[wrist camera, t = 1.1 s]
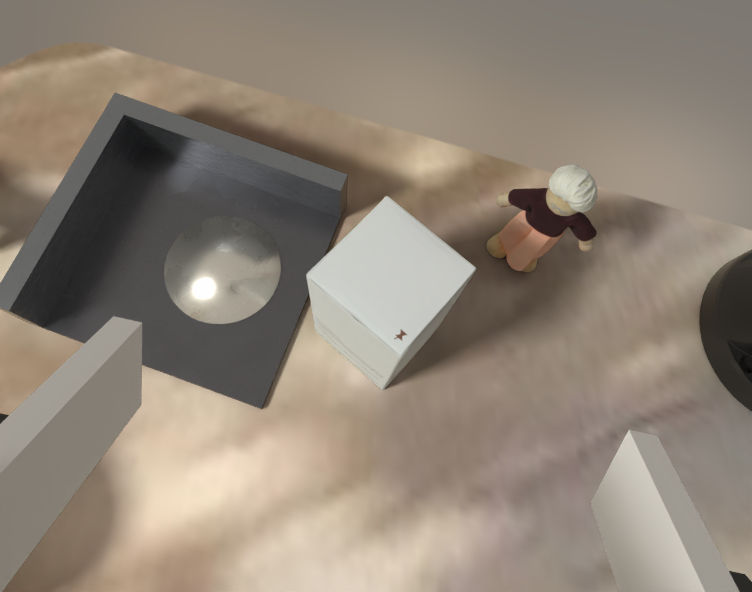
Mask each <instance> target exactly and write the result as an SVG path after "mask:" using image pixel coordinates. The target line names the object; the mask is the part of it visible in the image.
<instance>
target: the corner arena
mask: <svg viewBox="0 0 752 592" xmlns="http://www.w3.org/2000/svg"><path fill="white" fill-rule="evenodd" d="M347 178H348V174H345V173H342V172H339V171H336V170H333V169H331V168H328V167H325V166H322V165H319V164H316V163H314V162H311V161H308V160H305V159H302V158H299V157H297V156H294V155H291V154H288V153H285V152H282V151H279V150H277V149H274V148H271V147H268V146H265V145H262V144H260V143H257V142H254V141H251V140H248V139H245V138H243V137H240V136H237V135H234V134H231V133H228V132H226V131H223V130H220V129H217V128H214V127H211V126H208V125H206V124H203V123H200V122H197V121H194V120H191V119H189V118H186V117H183V116H180V115H177V114H174V113H172V112H169V111H166V110H163V109H160V108H157V107H155V106H152V105H149V104H146V103H143V102H140V101H137V100H135V99H132V98H129V97H126V96H123V95H120V94H118V93H114V95H113V97H112V98H111V100H110V102H109V103H108V105H107V107H106V108H105V110H104V112H103V113H102V115H101V117H100V118H99V120H98V122H97V123H96V125H95V127H94V128H93V130H92V132H91V133H90V135H89V137H88V138H87V140H86V142H85V143H84V145H83V147H82V148H81V150H80V152H79V153H78V155H77V157H76V158H75V160H74V162H73V163H72V165H71V167H70V168H69V170H68V172H67V173H66V175H65V177H64V178H63V180H62V182H61V183H60V185H59V187H58V188H57V190H56V192H55V193H54V195H53V197H52V198H51V200H50V202H49V203H48V205H47V207H46V208H45V210H44V212H43V213H42V215H41V217H40V218H39V220H38V222H37V223H36V225H35V226H34V228H33V230H32V231H31V233H30V235H29V236H28V238H27V240H26V241H25V243H24V245H23V246H22V248H21V250H20V251H19V253H18V255H17V256H16V258H15V260H14V261H13V263H12V265H11V266H10V268H9V270H8V271H7V273H6V275H5V276H4V278H3V280H2V281H1V283H0V309H1V310H3V311H5V312H7V313H9V314H11V315H13V316H15V317H17V318H20V319H22V320H24V321H26V322H28V323H31V324H33V325H36V326H39V327H42V328H44V329H47V330H50V331H52V332H55V333H58V334H60V335H63V336H66V337H68V338H71V339H74V340H77V341H79V342H82V343H86V342H87V341H88V340H89V339H90V338H91V337H92V336H93V335H94V334H95V333H96V332H98V331H99V330H100V329H101V328H102V327H103V326H104V325H105V324H106V323H107V322H108V321H109V320H110V319H111V318H112V317H113V316H115V317H119V318H124V319H129V320H133V321H138V322H142V365H144V366H147V367H149V368H152V369H155V370H158V371H160V372H163V373H166V374H168V375H171V376H174V377H176V378H179V379H182V380H185V381H187V382H190V383H193V384H195V385H198V386H201V387H203V388H206V389H209V390H212V391H214V392H217V393H220V394H222V395H225V396H228V397H230V398H233V399H236V400H239V401H241V402H244V403H247V404H249V405H252V406H255V407H257V408H260V409H262V407H263V405H264V402H265V400H266V398H267V395H268V393H269V390H270V388H271V386H272V383H273V381H274V378H275V376H276V373H277V371H278V369H279V366H280V364H281V361H282V359H283V356H284V354H285V352H286V349H287V347H288V344H289V342H290V340H291V337H292V335H293V332H294V330H295V327H296V325H297V323H298V320H299V318H300V315H301V313H302V310H303V308H304V306H305V303H306V301H307V298H308V296H309V289H308V283H307V277H306V274H307V273H308V272H309V271H310V270H311V269H312V268H313V267H314V266H315V265H316V264H317V263H318V262H319V261H320V260H321V259H322V258H323V257H324V256H325V255H326V252H327V250H328V248H329V245H330V243H331V240H332V238H333V235H334V233H335V231H336V228H337V226H338V223H339V221H340V218H341V216H342V214H343V211H344V209H345V206H346V201H347Z"/></svg>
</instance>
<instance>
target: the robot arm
mask: <svg viewBox="0 0 752 592" xmlns="http://www.w3.org/2000/svg"><path fill="white" fill-rule="evenodd" d="M700 331H701V337H702V342H703V346H704V349H705V352H706V354H707V357H708V359H709V361H710V364H711V366H712V367H713V369H714V371H715V373H716V374H717V376H718V378H719V379H720V380H721V382H722V383H723V384H724V386H725V387H726V388H727V389H728V391H729V392H730V393H731V394H732V395H733V396H734V397H735V398H736V399H737V400H738V401H739V402H741V403H742V404H743V405H744V406H745V407H747V408H748V409H749V410H751V411H752V250H750V251H748V252H746V253H744V254H742V255H740V256H738V257H737V258H735V259H733V260H731V261H730V262H728V263H727V264H725V265H724V266H723V267H722V268H720V269H719V270H718V272H717V273H716V274H715V275H714V276H713V278H712V279H711V281H710V282H709V284H708V286H707V288H706V290H705V293H704V295H703V299H702V303H701V308H700ZM141 388H142V322H138V321H133V320H129V319H124V318H119V317H115V316H113V317H112V318H111V319H110V320H109V321H108V322H107V323H106V324H105V325H104V326H103V327H102V328H101V329H100V330H99V331H98V332H96V333H95V334H94V335H93V336H92V337H91V338H90V339H89V340H88V341H87V342H86V343H85V344H84V345H83V346H82V347H81V348H80V349H79V350H78V351H76V352H75V353H74V354H73V355H72V356H71V357H70V358H69V359H68V360H67V361H66V362H65V363H64V364H63V365H62V366H61V367H60V368H59V369H58V370H56V371H55V372H54V373H53V374H52V375H51V376H50V377H49V378H48V379H47V380H46V381H45V382H44V383H43V384H42V385H41V386H40V387H39V388H38V389H36V390H35V391H34V392H33V393H32V394H31V395H30V396H29V397H28V398H27V399H26V400H25V401H24V402H23V403H22V404H21V405H20V406H19V407H18V408H16V409H15V410H14V411H13V412H12V413H11V414H10V415H5V414H0V592H2V591H3V590H4V589H5V587H6V586H7V585H8V583H9V582H10V581H11V579H12V578H13V576H14V575H15V574H16V572H17V571H18V570H19V568H20V567H21V566H22V564H23V563H24V562H25V560H26V559H27V558H28V556H29V555H30V554H31V552H32V551H33V550H34V548H35V547H36V546H37V544H38V543H39V542H40V540H41V539H42V538H43V536H44V535H45V533H46V532H47V531H48V529H49V528H50V527H51V525H52V524H53V523H54V521H55V520H56V519H57V517H58V516H59V515H60V513H61V512H62V511H63V509H64V508H65V507H66V505H67V504H68V503H69V501H70V500H71V499H72V497H73V496H74V495H75V493H76V492H77V491H78V489H79V488H80V486H81V485H82V484H83V482H84V481H85V480H86V478H87V477H88V476H89V474H90V473H91V472H92V470H93V469H94V468H95V466H96V465H97V464H98V462H99V461H100V460H101V458H102V457H103V456H104V454H105V453H106V452H107V450H108V449H109V448H110V446H111V445H112V443H113V442H114V441H115V439H116V438H117V437H118V435H119V434H120V433H121V431H122V430H123V429H124V427H125V426H126V425H127V423H128V422H129V421H130V419H131V418H132V417H133V415H134V414H135V413H136V411H137V410H138V409H139V407H140V406H141ZM591 506H592V509H593V512H594V515H595V519H596V522H597V525H598V528H599V531H600V534H601V537H602V540H603V543H604V547H605V550H606V553H607V556H608V559H609V562H610V565H611V568H612V571H613V575H614V578H615V581H616V584H617V587H618V590H619V592H752V582H751V581H750V580H749V578H748V577H747V576H746V575H745V574H741V573H736V572H732V571H728V569H727V567H726V565H725V563H724V561H723V559H722V557H721V556H720V554H719V552H718V550H717V548H716V546H715V544H714V542H713V540H712V539H711V537H710V535H709V533H708V531H707V529H706V527H705V525H704V523H703V522H702V520H701V518H700V516H699V514H698V512H697V510H696V508H695V506H694V505H693V503H692V501H691V499H690V497H689V495H688V493H687V491H686V489H685V488H684V486H683V484H682V482H681V480H680V478H679V476H678V474H677V472H676V471H675V469H674V467H673V465H672V463H671V461H670V459H669V457H668V455H667V454H666V452H665V450H664V448H663V446H662V444H661V442H660V440H659V439H658V437H657V436H655V435H651V434H646V433H642V432H637V431H633V430H629V431H628V433H627V434H626V436H625V438H624V440H623V442H622V444H621V446H620V448H619V450H618V452H617V454H616V455H615V457H614V459H613V461H612V463H611V465H610V467H609V469H608V471H607V473H606V474H605V476H604V478H603V480H602V482H601V484H600V486H599V488H598V490H597V492H596V494H595V495H594V497H593V499H592V501H591Z"/></svg>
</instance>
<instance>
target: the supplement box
mask: <svg viewBox="0 0 752 592" xmlns="http://www.w3.org/2000/svg"><path fill="white" fill-rule="evenodd" d="M475 271H476V267H475V266H473V265H472V264H471V263H470V262H469V261H467V260H466V259H465V258H464V257H462V256H461V255H460V254H459V253H458V252H456V251H455V250H454V249H453V248H451V247H450V246H449V245H448V244H446V243H445V242H444V241H443V240H442V239H440V238H439V237H438V236H437V235H435V234H434V233H433V232H432V231H430V230H429V229H428V228H427V227H425V226H424V225H423V224H422V223H421V222H419V221H418V220H417V219H416V218H414V217H413V216H412V215H411V214H409V213H408V212H407V211H406V210H404V209H403V208H402V207H401V206H399V205H398V204H397V203H396V202H394V201H393V200H392V199H391V198H390V197H388V196H386V197H385V198H384V199H383V200H382V201H381V202H380V203H379V204H378V205H377V206H376V207H375V208H374V209H373V210H372V211H371V212H370V213H369V214H368V215H367V216H366V217H365V218H364V219H363V220H362V221H361V222H360V223H359V224H358V225H357V226H356V227H355V228H354V229H353V230H352V231H350V232H349V233H348V234H347V235H346V236H345V237H344V238H343V239H342V240H341V241H340V242H339V243H338V244H337V245H336V246H335V247H334V248H333V249H332V250H331V251H330V252H329V253H328V254H327V255H325V256H324V257H323V258H322V259H321V260H320V261H319V262H318V263H317V264H316V265H315V266H314V267H313V268H312V269H311V270H310V271H309V272H308V273H307V274H306V277H307V283H308V289H309V295H310V301H311V307H312V313H313V319H314V325H315V331H316V332H317V333H318V334H319V335H320V336H321V337H322V338H323V339H324V340H325V341H327V342H328V343H329V344H330V345H331V346H332V347H333V348H334V349H336V350H337V351H338V352H339V353H340V354H341V355H342V356H343V357H345V358H346V359H347V360H348V361H349V362H350V363H351V364H353V365H354V366H355V367H356V368H357V369H358V370H359V371H361V372H362V373H363V374H364V375H365V376H366V377H367V378H369V379H370V380H371V381H372V382H373V383H374V384H375V385H377V386H378V387H379V388H380V389H381V390H384V389H385V388H386V387H387V386H388V384H389V383H390V382H391V381H392V380H393V379H394V378H395V377H396V376H397V375H398V373H399V372H400V371H401V370H402V369H403V368H404V367H405V366H406V365H407V364H408V362H409V361H410V360H411V359H412V358H413V357H414V356H415V354H416V353H417V352H418V351H419V350H420V349H421V348H422V346H423V345H424V344H425V343H426V342H427V340H428V339H429V338H430V337H431V336H432V334H433V333H434V332H435V331H436V330H437V328H438V327H439V326H440V325H441V323H442V321H443V320H444V318H445V317H446V315H447V313H448V312H449V311H450V309H451V308H452V306H453V305H454V303H455V301H456V300H457V299H458V297H459V296H460V294H461V293H462V291H463V289H464V288H465V286H466V285H467V283H468V282H469V280H470V279H471V277H472V276H473V274H474V273H475Z"/></svg>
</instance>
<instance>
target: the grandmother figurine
mask: <svg viewBox="0 0 752 592" xmlns="http://www.w3.org/2000/svg"><path fill="white" fill-rule="evenodd" d="M596 199H597V186H596V183H595V180H594V178H593V177H592V176H591V174H590V172H589V171H588V170H586V169H583V168H580V167H579V166H578V165H574V164H571V165H569V166H562V167H560V168H558V169H557V170H556V171H555V173H554V174H553V175H552V176H551V178H550V180H549V188H542V189H534V188H533V189H514V190H512V191H510V192H507V193H502V194H500V195H499V196H498V197H497V200H496V201H497V204H498V205H499V206H500V207H506V206H511V205H514V206H516V207H518V208H520V209H522V211H521V212H520V213H518V214H517V215H516V216H515V217H514V218H513V219H511V220H510V221H509V222H508V223H507V225H506V226H505V227H504V228H503V230H502V231H500V232H499V233H497V234H496V235H494V236H493V237H491V238H490V239H489V240H488V241H487V244H486V248H487V251H488V252H489V253H490V254H491V255H492V256H493V257H495V258H504V257H505V256H507V262H508V264H509V265H510V267H511V268H512V269H514V270H516V271H523V272H531V271H533V270H534V269H535V268H536V265H537V261H538V258H539V257H541V256H542V255H543V254H545V253H546V252H547V251H548V250H549V249H551V248H552V247H553V246H554V245H555V243H556V242H557V241H558V240H559V239H560V238H561V237H562V236H563V234H564V230H565V229H566V228H567V227H570V228H571V230H572V232H573V233H574V235H575V236H576V237H577V238H578V240H579V248H580V249H581V250H582V251H589V250H591V249H592V248H593V238H594V237H595V236H596V234H597V232H596V230H595V228H594V227H593V226H592V224H591V222H590V221H589V219H588V218H587V217H586V216H585V215H584V214H582V213H581V212H586V211H588V210H590V209H591V208H593V206H594V204H595V202H596Z"/></svg>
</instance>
